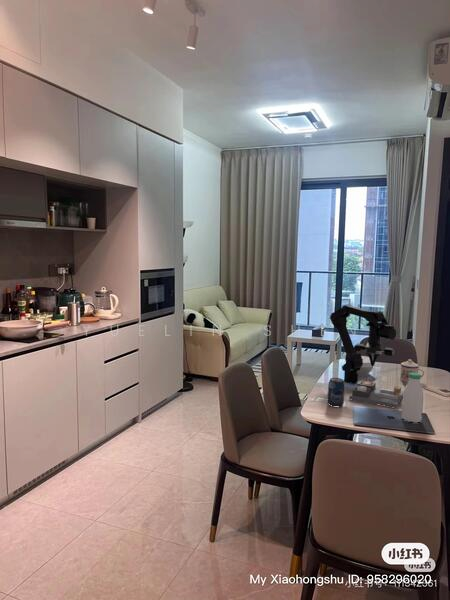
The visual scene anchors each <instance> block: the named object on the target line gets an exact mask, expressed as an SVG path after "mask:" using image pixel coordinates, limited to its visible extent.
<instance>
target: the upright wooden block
mask: <svg viewBox="0 0 450 600" xmlns="http://www.w3.org/2000/svg"><path fill="white" fill-rule="evenodd" d="M393 390H394V395H396V396H398V398H399V397H400V395H401V392H402V386H401V385H395V386H394V388H393Z"/></svg>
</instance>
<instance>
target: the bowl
mask: <svg viewBox="0 0 450 600" xmlns="http://www.w3.org/2000/svg"><path fill="white" fill-rule="evenodd" d="M361 357H362V359H363V360H362V361H363V364H362V367H361V368H360V370H358V374H359V375H358V377H359V376H360V377H363V376H364V377H367V376H368V375H369V374H370V372H371V371H372V370H373V369H374V366H371V362H370V359H369V356H365V355H361Z"/></svg>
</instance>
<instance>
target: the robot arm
mask: <svg viewBox="0 0 450 600" xmlns="http://www.w3.org/2000/svg"><path fill="white" fill-rule="evenodd" d="M351 315H353V316H357V317H360V318H363V319H365V320H366V321H367V322H368V323H366V324H365V326H367V327H369V328H368V339H367V340H368V341H367V343H366V345H365V344H364V343H356V344H355V345H353V340H352V339H351V335H350V332H349V331H348V330H349V329H348V327H347V322H348V319H347V318H349V316H351ZM329 319H330V321H331V324H332V325H333V326H334V327H335V328H336V329H337V332H338V335H339V338H340V341H341V345H342V346H343V349H344V352H345V357H344V358H345V359H344V360H345V362H344V364H343V365H341V369H342V371H343V372H344V373H343V374H344V375H343V376H344V378H343V382H344V383H347V384H354V385H355V384H356V383H358V382H359V374H358V370H360V368H361V367H362V364H363V361H362V360H363V359H362V357H361V356H362V355H361V351H364V353H365V354H366V355H367V357H369V359H370V362H371V366H373V367H374V366H375V364H376V362H377V359H378V358H379V356H381V355H382V354H384V355H385V356H387V357H388V356H390V357H392V356H394V354H395V348H392V347H385V348H382V343H381V340H382V339H385V340H390V341H394V340H395V338H397V337H396V336H397V330H396V328H395V325H389V322H388V321H387V319H386V317H385V314H384V312H383V311H381V310H368V309H364V308H361V307H357V306H353V305H351V304H346V305H345V304H344V305H343V306H342V307H341V308H339V309H337V310H335V311H333V312H331V314H330V316H329ZM381 338H382V339H381Z"/></svg>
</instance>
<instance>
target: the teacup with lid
mask: <svg viewBox="0 0 450 600" xmlns="http://www.w3.org/2000/svg"><path fill="white" fill-rule="evenodd" d="M419 367H420V366H419V364H418V363H415V362H414V361H413V360H412V359H407V361H403V362H401V363H400V376H399V380H400V381H401V382H405V383H408V381H409V373H418V374H419V371H421V372H422V374H421V378H423V377H424V376H425V371H424V370H423V369H422V368H419Z"/></svg>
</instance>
